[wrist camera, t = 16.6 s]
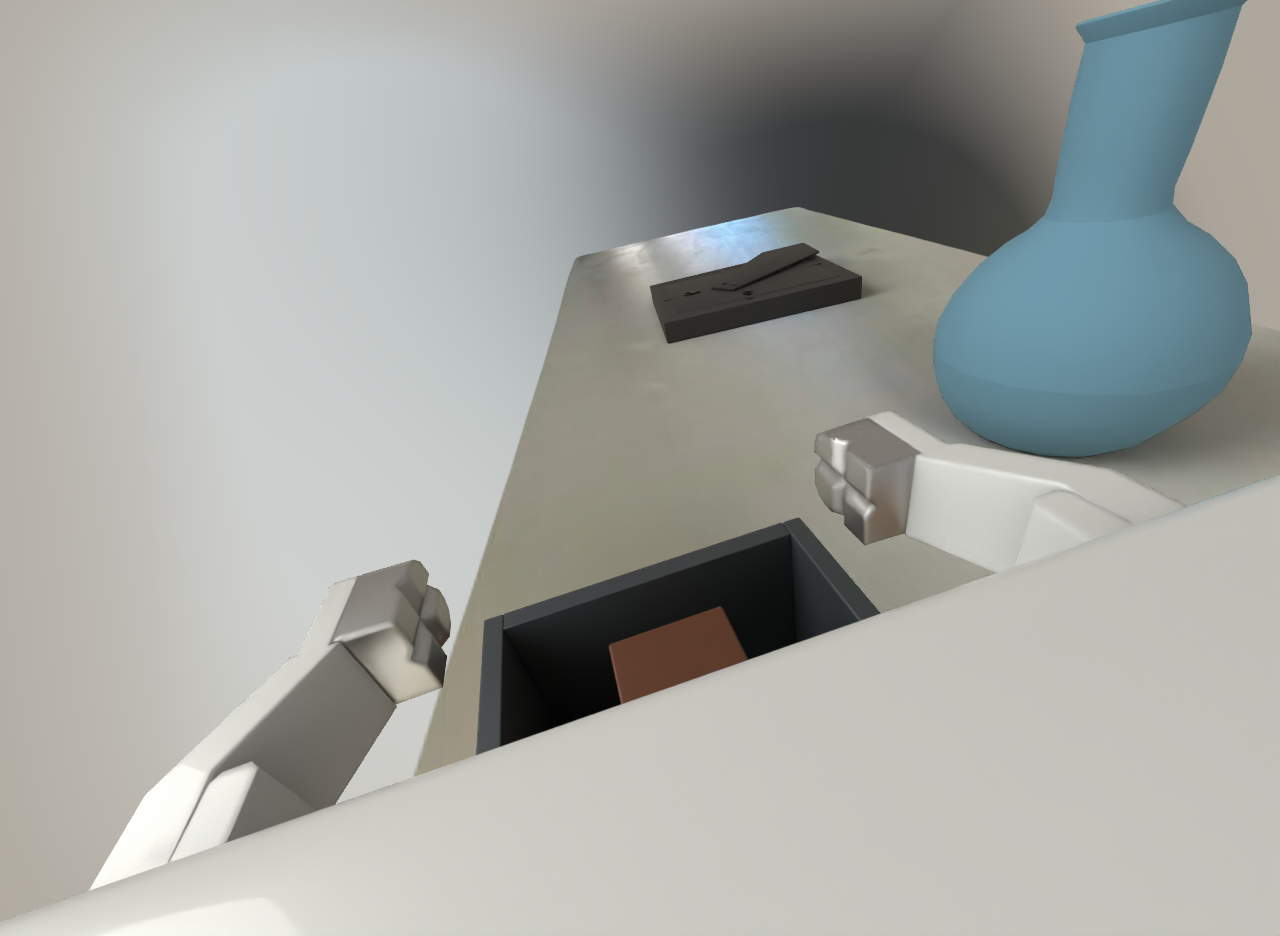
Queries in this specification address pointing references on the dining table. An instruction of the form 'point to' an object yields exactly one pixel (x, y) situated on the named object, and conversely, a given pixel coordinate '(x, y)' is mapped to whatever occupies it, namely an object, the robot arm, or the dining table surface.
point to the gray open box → (655, 624)
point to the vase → (1107, 260)
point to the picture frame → (752, 292)
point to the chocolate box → (675, 654)
